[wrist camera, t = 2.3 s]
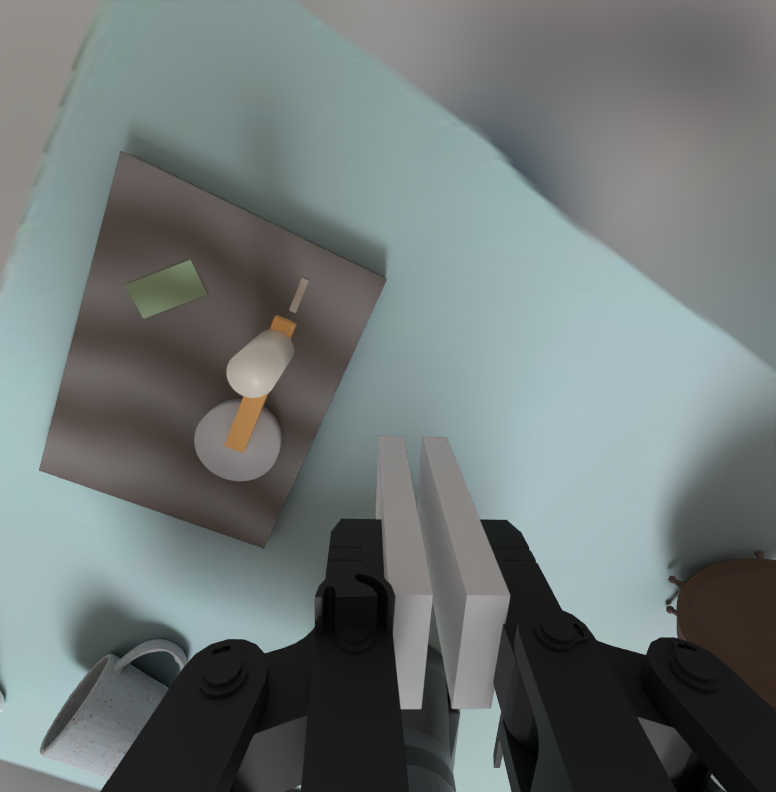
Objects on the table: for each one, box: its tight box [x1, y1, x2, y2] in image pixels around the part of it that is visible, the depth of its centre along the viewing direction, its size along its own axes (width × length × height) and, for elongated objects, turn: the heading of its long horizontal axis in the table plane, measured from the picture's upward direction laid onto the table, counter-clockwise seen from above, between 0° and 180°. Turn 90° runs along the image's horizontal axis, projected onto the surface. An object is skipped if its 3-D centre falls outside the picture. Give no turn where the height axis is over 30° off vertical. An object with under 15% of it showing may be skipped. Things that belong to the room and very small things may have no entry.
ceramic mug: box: [40, 639, 187, 779], centre depth 40 cm, size 11×8×8 cm
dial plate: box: [39, 151, 387, 548], centre depth 33 cm, size 24×18×2 cm
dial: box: [194, 315, 297, 481], centre depth 29 cm, size 13×6×8 cm, turn 155°
